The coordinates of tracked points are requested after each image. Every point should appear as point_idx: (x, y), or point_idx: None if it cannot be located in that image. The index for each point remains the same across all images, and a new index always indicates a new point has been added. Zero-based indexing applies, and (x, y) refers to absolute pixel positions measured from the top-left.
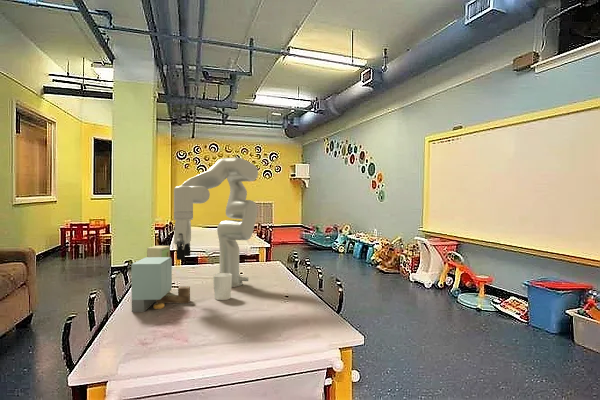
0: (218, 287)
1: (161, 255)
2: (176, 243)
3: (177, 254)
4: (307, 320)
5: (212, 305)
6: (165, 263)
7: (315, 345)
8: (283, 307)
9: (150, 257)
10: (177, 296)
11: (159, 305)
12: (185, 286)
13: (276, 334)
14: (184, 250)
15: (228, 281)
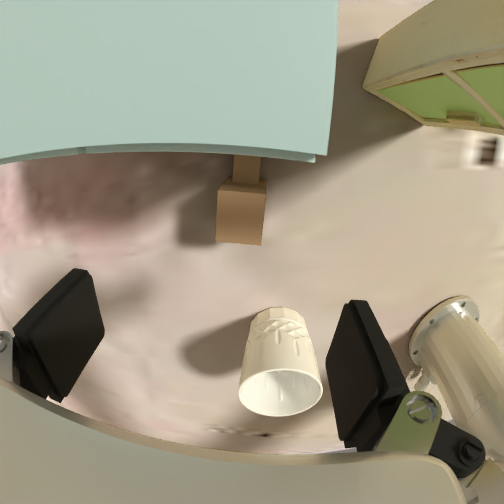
0: (246, 351)
1: (500, 59)
2: (41, 410)
3: (47, 304)
4: (107, 419)
5: (186, 302)
6: (60, 155)
7: None
8: (173, 419)
9: None
10: (236, 176)
11: None
12: (261, 222)
13: None
14: (53, 392)
15: (251, 392)
